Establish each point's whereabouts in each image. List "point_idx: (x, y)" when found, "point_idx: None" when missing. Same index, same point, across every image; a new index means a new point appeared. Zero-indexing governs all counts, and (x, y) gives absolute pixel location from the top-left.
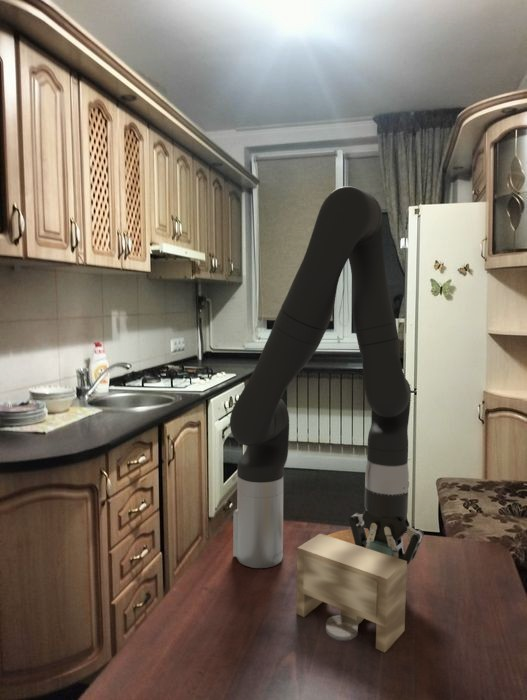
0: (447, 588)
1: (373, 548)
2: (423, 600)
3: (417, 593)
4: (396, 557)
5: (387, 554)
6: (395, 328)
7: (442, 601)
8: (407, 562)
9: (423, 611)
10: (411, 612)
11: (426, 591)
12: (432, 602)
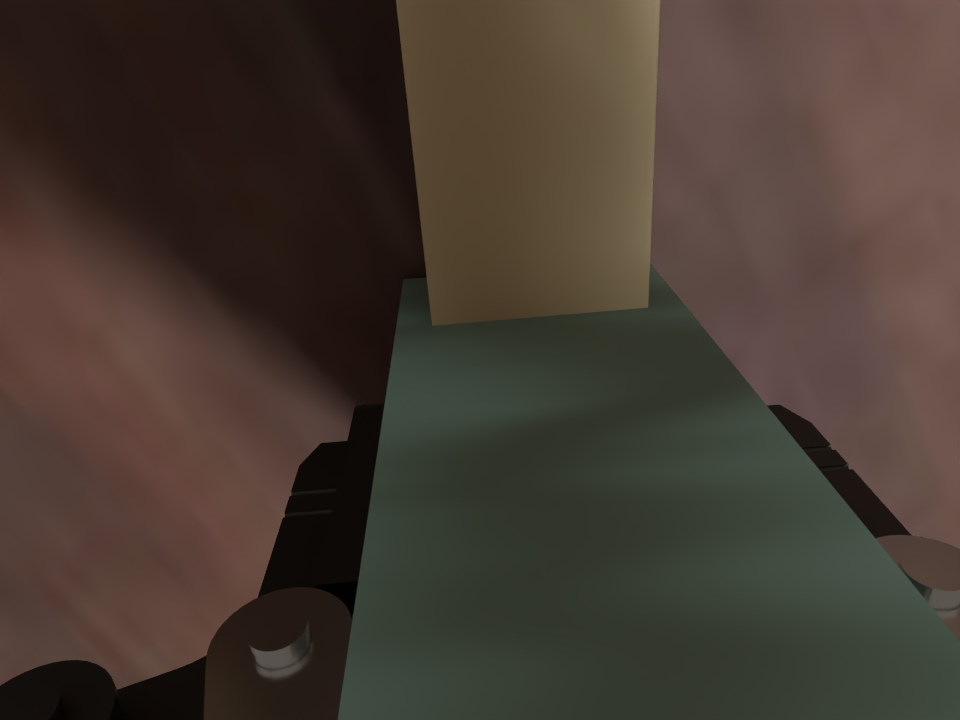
0: None
1: (856, 678)
2: (149, 457)
3: (259, 515)
4: (259, 714)
5: (420, 675)
6: None
7: (33, 543)
8: (10, 705)
9: (15, 296)
10: (75, 195)
11: (226, 584)
12: (75, 479)
